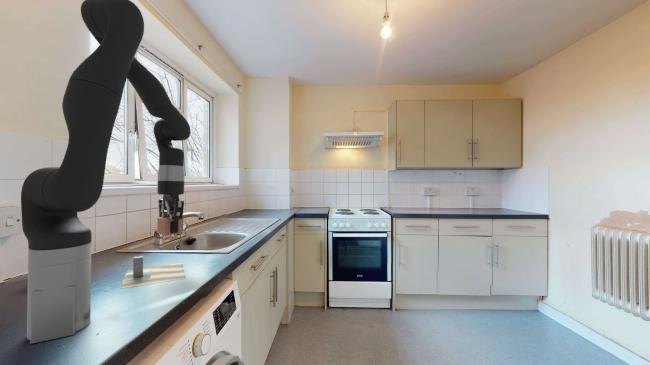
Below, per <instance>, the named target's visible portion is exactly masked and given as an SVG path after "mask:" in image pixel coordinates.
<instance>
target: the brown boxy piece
mask: <svg viewBox="0 0 650 365" xmlns="http://www.w3.org/2000/svg"><path fill="white" fill-rule="evenodd" d="M170 222H171V221H170V217H163V218H161V217H157V222H156V224H157V231H156V233H157V234H158V235H161V236H172V235H179V234H180V235H181V234H184V217H183V218H182V219H180V221H179V227H178V233H170Z"/></svg>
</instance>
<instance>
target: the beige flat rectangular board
mask: <svg viewBox="0 0 650 365" xmlns="http://www.w3.org/2000/svg"><path fill="white" fill-rule="evenodd" d="M185 279H187V277H186V271H185V268H184V264H183V262H180V263H179V262H178V263H173V264H172V263H171V264H164V265H156V266H149V267H143V277H137V278H133V268H132V269H127V271H126V272H125V276H124V278H123V281H122V283H121V286H120V287H119V289H126V288H127V289H128V288H133V287H141V286H146V285H147V286H148V285H152V284H153V285H154V284H159V283H166V282H173V281H178V280H179V281H180V280H185Z"/></svg>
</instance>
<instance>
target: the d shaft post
mask: <svg viewBox="0 0 650 365" xmlns="http://www.w3.org/2000/svg"><path fill="white" fill-rule="evenodd" d="M132 261H133V262H132V269H133V278H137V277H143V268H144V255H137V256H133V259H132Z"/></svg>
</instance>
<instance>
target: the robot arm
mask: <svg viewBox="0 0 650 365" xmlns="http://www.w3.org/2000/svg"><path fill="white" fill-rule="evenodd" d="M80 14H81V18H82V21H83V22H84V25H85V26H86V28H87V30H88V31H89V32H90V34H91V35H92V36H93V38H94V39H95V40H96V41H97V43H98V44H99V45H98V46H97V48H96V49H95V50H93V52H92V53H91V54H90V55H89V56H87V57H86V58H85V59H83V61H82V62H81V63H80V64H79V65H78V66H77V67H76V68H75V69H74V70H73V72H72V73H71V74H70V75H71V76H70V77H69V80H68V82H67V84H66V85H67V86H66V87H65V92H64V95H63V98H62V102H61V103H62V104H61V105H62V114H63V118H64V120H65V125H66V128H67V132H68V142H67V143H68V144H67V147H66V151H65V153H64V155H63V156H64V157H63V160H62V161H61V164H60V166H54V167H52V166H51V167H42V168H38V169H36V170H33V171H32V172H30V173H29V174H28V175H27V176H26V178H25V179H24V181H23V184H22V187H21V190H20V194H21V195H20V205H21V206H20V209H21V226H22V232H23V235H24V236H25V237H26V240H27V243H28V244H27V245H28V248H27V249H28V251H27V252H28V255H27V261H28V262H27V304H26V306H27V307H26V321H27V322H26V339H27V340H28V341H29V345H31V344H35V343H42V342H47V341H50V340H54V339H55V340H56V339H60V338H64V337H69V336H73V335H74V336H75V334H76V333H77V332H78V331H80V330H82V329H85V327H87V326H88V325H89V324H90V322H91V307H92V305H91V300H92V298H91V297H92V296H91V295H92V294H91V291H92V286H91V285H92V282H91V281H92V235H93V234H92V230H91V229H90V228H89V227H88V226H86V225H84V224H83V222H81V221H80V219H79V217H78V213H81V212H85V211H88V210H89V209H91V208H93V207H94V205H95V204H96V203H97V202H98V201H99V199H100V197H101V195H102V192H103V187H104V181H105V173H106V167H107V164H106V163H107V159H108V158H107V157H108V153H109V152H108V151H109V147H110V143H111V139H112V135H113V134H112V133H113V130H114V127H115V122H116V119H117V117H118V113H119V110H120V106H121V103H122V98H123V93H124V89H125V85H126V82H127V80H128V81H129V83H130V84H131V85H132V87H133V89H134V90H135V93H137V96H138V97H139V98H140V100H141V102H142V103H143V105H144V107H145V109H146V110H147V112H148V113H149V114H150V115H151V116H153V117H154V118H157V119H158V120H157V121H155V123H154V125H153V135H154V138H155V141H156V142H155V143H156V146H157V150H158V153H159V154H158V155H159V156H158V170H157V194H158V195H162V199H158V218H163V217H170V221H171V222H170V233H178V227H179V221H180V219H182V218H183V219H184V217H183V215H184V206H185V200H180V195H184V194H185V167H184V166H185V152H184V150H183V149H181V148H178V147H176V146H175V147H174V146H173V144H172V141H173V142H174V141H180V142H181V141H186V140H188V139H189V138H190V136H191V133H192V132H191V130H192V129H191V126H190V124H189V122H188V121H187V119H186V118H185V117H184V116H183V114H182V113H181V112H180V111H179V110H178V108H176V106H175V105H173V103H172V101H171V98H170V97H169V95H168V93H167V91H166V89H165V87H164V85H163V84H162V83H161V81H159V79H158V78H157V77H156V76H155V75H154V74H153V72H151V71H149V70H148V68H146V67H145V66H144V65H143V64H142V63H141V62H140V61H139V60H138V59H137V58H136V57H135V55H136V53H137V51H138V50H139V47H140V45H141V43H142V41H143V37H144V33H145V20H144V16H143V14H142V12H141V10H140V8H139V7H138V6H137V5H136V4H135V3H134V2H133V1H132V0H83V1H82V3H81V4H80Z"/></svg>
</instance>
